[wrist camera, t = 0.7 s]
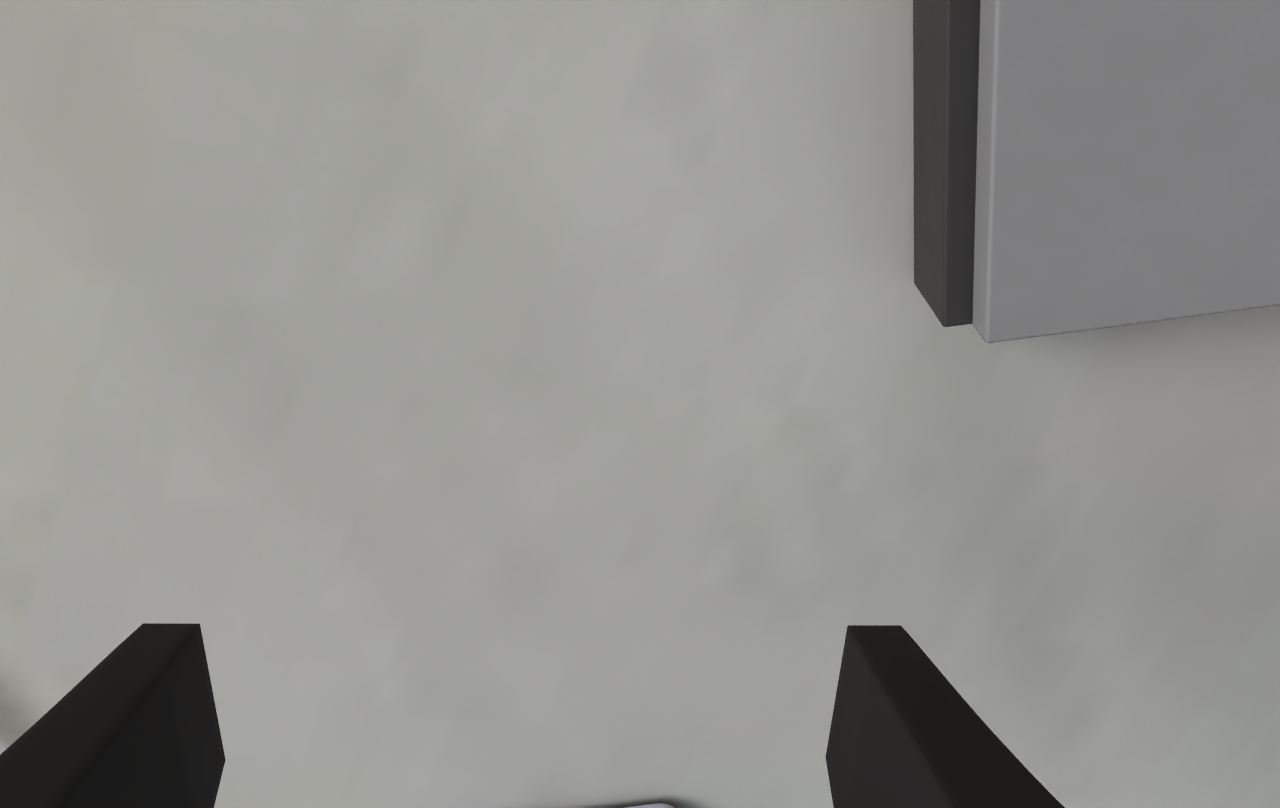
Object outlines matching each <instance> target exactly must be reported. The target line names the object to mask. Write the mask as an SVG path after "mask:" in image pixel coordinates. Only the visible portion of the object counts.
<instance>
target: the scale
mask: <svg viewBox="0 0 1280 808" xmlns="http://www.w3.org/2000/svg"><path fill="white" fill-rule="evenodd" d="M913 51H914V283H915V285H916V286H917V288H918V289H919V291H920V292H921V294H922V295H923V297H924V298H925V300H926V301H927V303H928V304H929V306H930V307H931V309H932V310H933V312H934V313H935V315H936V316H937V318H938V319H939V321H940V322H941V324H942V325H943V326H945V327H950V326H957V325H965V324H972V323H973V325H974V327H975V328H976V330H977V331H978V332H979V334H980V335H981V337H982V338H983V339H984V341H985V342H987V343H994V342H1001V341H1009V340H1017V339H1024V338H1032V337H1039V336H1047V335H1055V334H1062V333H1070V332H1077V331H1085V330H1093V329H1100V328H1108V327H1115V326H1123V325H1131V324H1138V323H1146V322H1153V321H1161V320H1168V319H1176V318H1184V317H1191V316H1199V315H1206V314H1214V313H1222V312H1229V311H1237V310H1244V309H1252V308H1260V307H1267V306H1275V305H1280V0H913Z"/></svg>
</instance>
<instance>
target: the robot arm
mask: <svg viewBox="0 0 1280 808" xmlns="http://www.w3.org/2000/svg"><path fill="white" fill-rule="evenodd" d="M826 762H827V768H828V774H829V781H830V787H831V793H832V800H833V806H834V808H1065V807H1064V806H1062V805H1061V804H1060V803H1059V802H1058V801H1057V800H1056V799H1055V798H1054V797H1053V796H1052V795H1051V794H1050V793H1049V792H1048V791H1047V790H1046V789H1045V787H1044V786H1043V785H1042V784H1041V783H1040V782H1039V781H1038V780H1037V779H1036V778H1035V777H1034V776H1033V775H1032V774H1031V773H1030V772H1029V771H1028V770H1027V769H1026V768H1025V767H1024V766H1023V764H1022V763H1021V762H1020V761H1019V760H1018V759H1017V758H1016V757H1015V756H1014V755H1013V754H1012V753H1011V751H1010V750H1009V749H1008V748H1007V747H1006V746H1005V745H1004V744H1003V743H1002V742H1001V741H1000V740H999V738H998V737H997V736H996V735H995V734H994V733H993V732H992V731H991V730H990V729H989V728H988V726H987V725H986V724H985V723H984V722H983V721H982V720H981V718H980V717H979V716H978V715H977V714H976V713H975V712H974V711H973V709H972V708H971V707H970V706H969V705H968V704H967V702H966V701H965V700H964V699H963V698H962V697H961V695H960V694H959V693H958V692H957V691H956V690H955V689H954V687H953V686H952V685H951V684H950V683H949V681H948V680H947V679H946V678H945V677H944V676H943V674H942V673H941V672H940V671H939V670H938V668H937V667H936V666H935V665H934V664H933V662H932V661H931V660H930V659H929V658H928V657H927V655H926V654H925V653H924V652H923V651H922V649H921V648H920V647H919V646H918V645H917V643H916V642H915V641H914V640H913V639H912V638H911V636H910V635H909V634H908V633H907V632H906V631H905V630H904V629H903V628H902V627H901V626H848V627H847V633H846V639H845V645H844V651H843V657H842V663H841V669H840V675H839V681H838V687H837V693H836V699H835V705H834V711H833V717H832V723H831V729H830V735H829V741H828V747H827V753H826ZM224 763H225V756H224V750H223V745H222V740H221V734H220V729H219V724H218V718H217V713H216V708H215V702H214V697H213V692H212V686H211V681H210V676H209V671H208V665H207V660H206V655H205V649H204V644H203V639H202V633H201V628H200V624H142V625H141V626H140V627H139V628H138V629H137V630H136V631H134V632H133V633H132V634H131V635H130V636H129V637H128V638H127V639H126V640H124V641H123V642H122V643H121V644H120V645H119V646H118V647H117V648H116V649H115V650H114V651H112V652H111V653H110V654H109V655H108V656H107V657H106V658H105V659H104V660H103V661H102V662H101V663H100V664H99V665H97V666H96V667H95V668H94V669H93V670H92V671H91V672H90V673H89V674H88V675H87V676H86V677H85V678H84V679H83V680H81V681H80V682H79V683H78V684H77V685H76V686H75V687H74V688H73V689H72V690H71V691H70V692H69V693H68V694H67V695H65V696H64V697H63V698H62V699H61V700H60V701H59V702H58V703H57V704H56V705H55V706H54V707H53V708H52V709H50V710H49V711H48V712H47V713H46V714H45V715H44V716H43V717H42V718H41V719H40V720H38V721H37V722H36V723H35V724H34V725H33V726H32V727H31V728H30V729H28V730H27V731H26V732H25V733H24V734H23V735H22V736H21V737H20V738H18V739H17V740H16V741H15V742H14V743H13V744H12V745H11V746H10V747H8V748H7V749H6V750H5V751H4V752H3V753H2V754H1V755H0V808H214V804H215V800H216V796H217V792H218V788H219V784H220V780H221V775H222V771H223V767H224ZM624 808H674V807H673V806H671V805H668V804H664V803H657V804H648V805H640V806H632V807H624Z"/></svg>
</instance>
